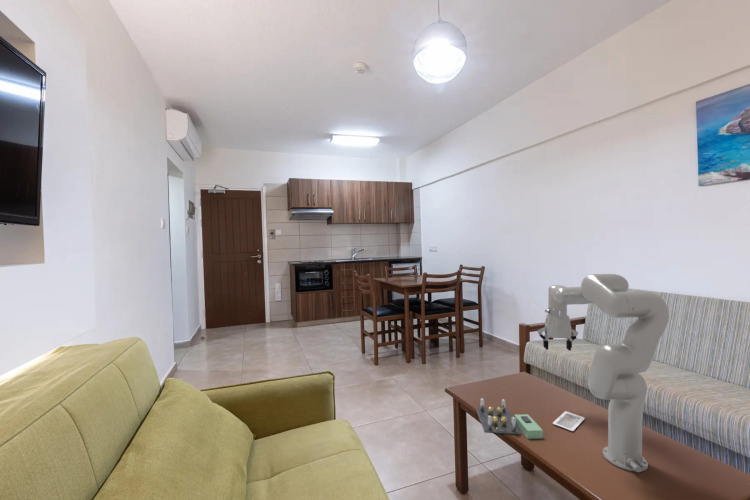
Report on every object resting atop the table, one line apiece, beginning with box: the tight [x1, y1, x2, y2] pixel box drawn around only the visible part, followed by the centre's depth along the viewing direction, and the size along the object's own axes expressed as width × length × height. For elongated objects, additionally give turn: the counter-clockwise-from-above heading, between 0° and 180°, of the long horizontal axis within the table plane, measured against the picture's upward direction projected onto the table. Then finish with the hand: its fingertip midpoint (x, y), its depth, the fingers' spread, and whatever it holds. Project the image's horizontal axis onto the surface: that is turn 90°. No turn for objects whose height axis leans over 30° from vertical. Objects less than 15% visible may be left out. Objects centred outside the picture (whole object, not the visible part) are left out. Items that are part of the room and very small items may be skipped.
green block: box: [513, 414, 544, 440], centre depth 135 cm, size 12×6×4 cm, turn 1°
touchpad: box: [552, 410, 586, 432], centre depth 141 cm, size 8×15×2 cm, turn 132°
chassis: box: [476, 397, 522, 435], centre depth 141 cm, size 18×14×6 cm
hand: (557, 349), depth 153 cm, fingers open, 9 cm apart
